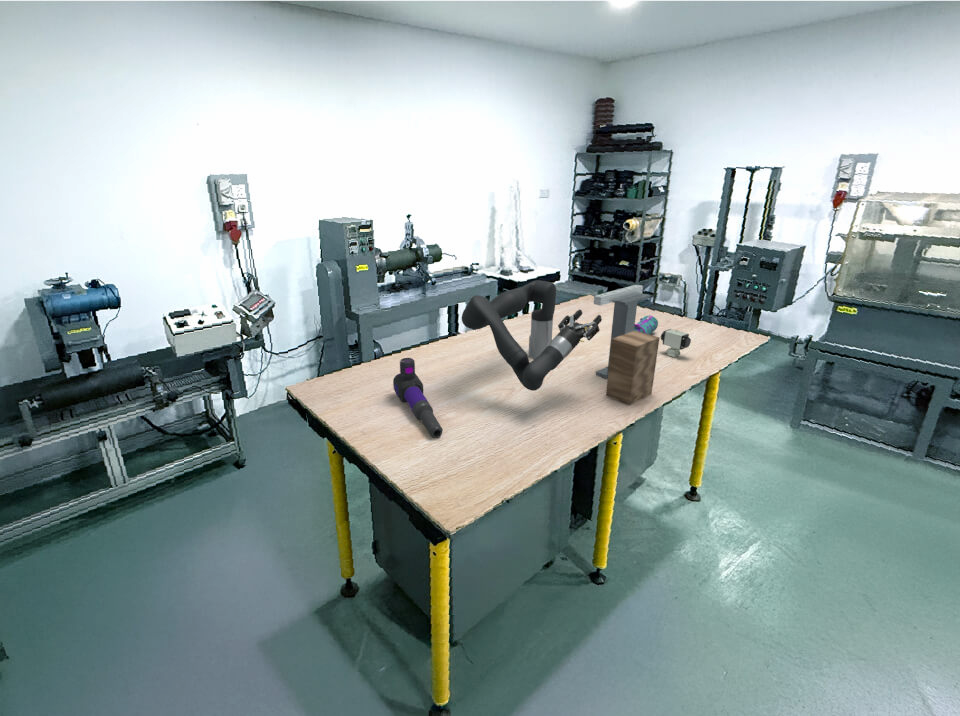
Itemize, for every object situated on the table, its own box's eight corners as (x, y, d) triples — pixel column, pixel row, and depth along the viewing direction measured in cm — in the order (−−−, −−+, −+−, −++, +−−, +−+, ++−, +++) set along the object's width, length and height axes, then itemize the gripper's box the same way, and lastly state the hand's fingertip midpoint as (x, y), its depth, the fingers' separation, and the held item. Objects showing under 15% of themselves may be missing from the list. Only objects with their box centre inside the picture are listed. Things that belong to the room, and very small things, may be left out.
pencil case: (639, 330, 248) (641, 312, 245) (657, 333, 244) (659, 315, 240) (625, 342, 232) (627, 322, 229) (643, 345, 228) (646, 326, 224)
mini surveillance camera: (682, 361, 210) (686, 334, 206) (658, 353, 219) (661, 327, 214) (689, 358, 213) (693, 331, 209) (665, 350, 222) (668, 325, 217)
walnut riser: (629, 405, 173) (636, 346, 165) (605, 395, 180) (611, 338, 172) (651, 393, 181) (659, 337, 173) (628, 384, 188) (634, 330, 180)
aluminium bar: (600, 305, 175) (601, 297, 173) (593, 303, 177) (594, 295, 176) (642, 293, 190) (643, 285, 189) (635, 292, 192) (636, 284, 191)
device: (423, 447, 152) (422, 406, 146) (392, 392, 182) (390, 356, 175) (450, 441, 156) (450, 400, 149) (416, 388, 185) (414, 352, 179)
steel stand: (616, 382, 190) (625, 302, 178) (595, 374, 197) (602, 297, 185) (640, 372, 200) (650, 295, 188) (619, 364, 207) (627, 290, 195)
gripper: (576, 342, 162) (604, 310, 167) (544, 331, 172) (572, 301, 178) (582, 357, 167) (609, 326, 172) (550, 346, 177) (577, 317, 182)
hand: (590, 313), depth 175 cm, fingers open, 8 cm apart
